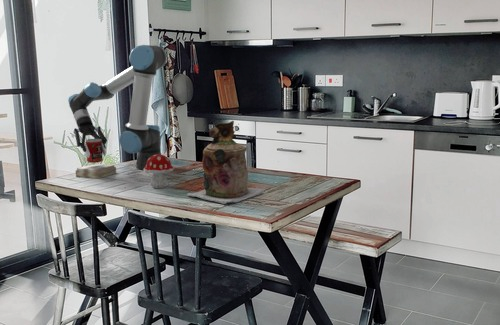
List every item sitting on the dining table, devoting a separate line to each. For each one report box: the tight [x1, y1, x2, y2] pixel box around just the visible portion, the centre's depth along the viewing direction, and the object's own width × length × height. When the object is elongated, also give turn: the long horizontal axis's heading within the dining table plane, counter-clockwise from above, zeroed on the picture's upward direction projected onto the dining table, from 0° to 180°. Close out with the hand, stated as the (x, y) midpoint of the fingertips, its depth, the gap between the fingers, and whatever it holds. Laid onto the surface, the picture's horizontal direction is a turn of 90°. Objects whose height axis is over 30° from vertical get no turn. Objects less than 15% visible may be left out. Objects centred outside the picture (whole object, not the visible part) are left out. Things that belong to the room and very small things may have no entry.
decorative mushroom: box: [143, 153, 175, 189], centre depth 242 cm, size 14×14×15 cm
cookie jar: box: [186, 120, 266, 205], centre depth 223 cm, size 25×25×32 cm
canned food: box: [85, 138, 104, 164], centre depth 269 cm, size 8×8×11 cm
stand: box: [75, 163, 117, 179], centre depth 271 cm, size 14×14×4 cm
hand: (97, 155), depth 266 cm, fingers closed on canned food, 8 cm apart
